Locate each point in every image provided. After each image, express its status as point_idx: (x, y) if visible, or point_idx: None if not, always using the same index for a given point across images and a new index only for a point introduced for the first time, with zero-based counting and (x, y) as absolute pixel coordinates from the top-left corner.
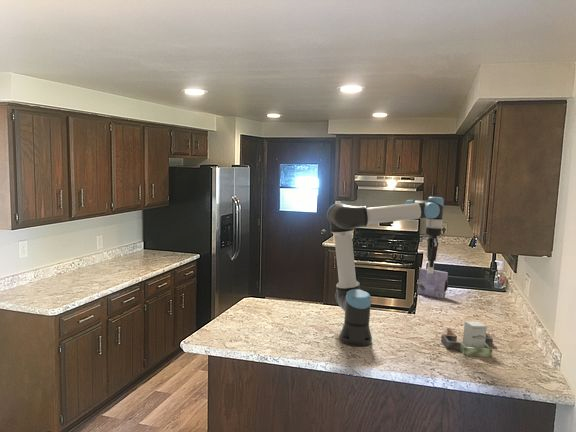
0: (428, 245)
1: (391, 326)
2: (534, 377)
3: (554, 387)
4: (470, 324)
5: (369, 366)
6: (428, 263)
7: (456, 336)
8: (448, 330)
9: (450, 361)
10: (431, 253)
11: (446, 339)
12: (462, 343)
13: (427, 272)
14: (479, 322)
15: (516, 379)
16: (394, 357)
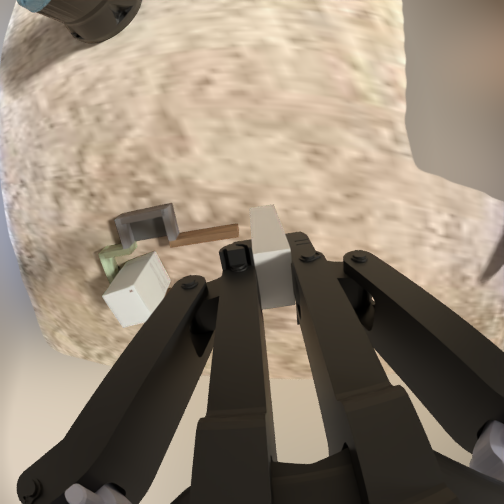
0: (369, 412)
1: (260, 67)
2: (78, 333)
3: (64, 343)
4: (111, 294)
5: (4, 84)
6: (260, 238)
7: (170, 246)
8: (225, 230)
9: (62, 216)
10: (142, 341)
11: (131, 218)
12: (121, 253)
13: (265, 206)
14: (145, 319)
15: (56, 308)
16: (40, 108)
